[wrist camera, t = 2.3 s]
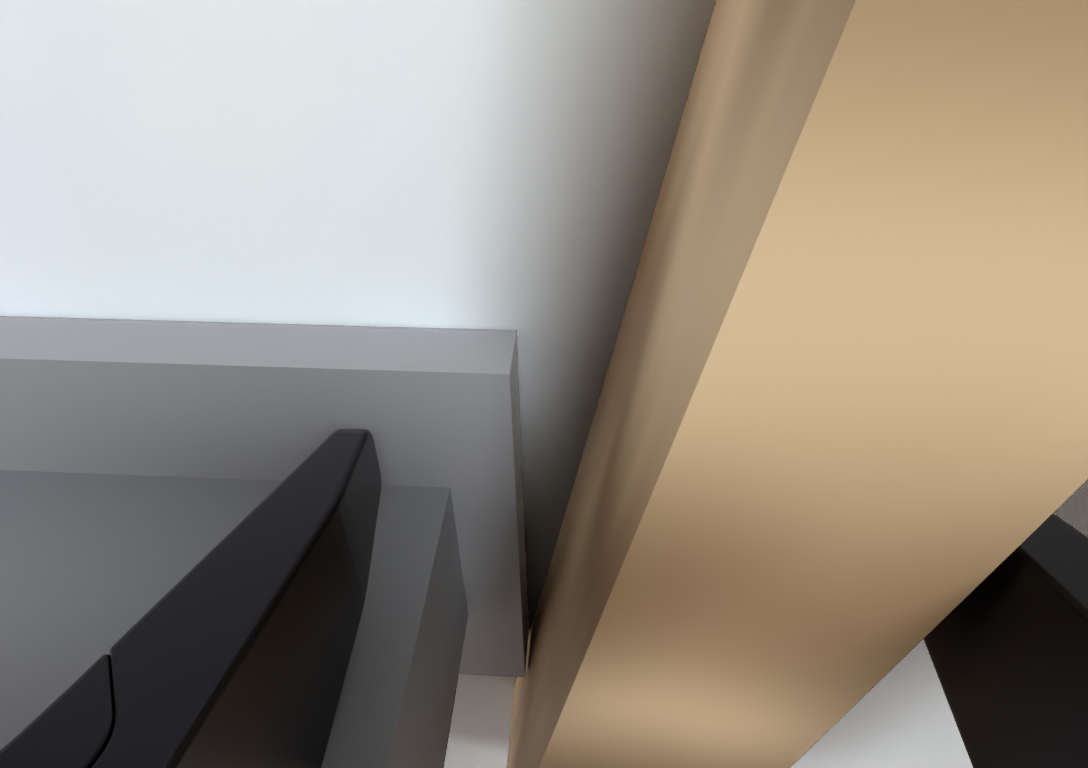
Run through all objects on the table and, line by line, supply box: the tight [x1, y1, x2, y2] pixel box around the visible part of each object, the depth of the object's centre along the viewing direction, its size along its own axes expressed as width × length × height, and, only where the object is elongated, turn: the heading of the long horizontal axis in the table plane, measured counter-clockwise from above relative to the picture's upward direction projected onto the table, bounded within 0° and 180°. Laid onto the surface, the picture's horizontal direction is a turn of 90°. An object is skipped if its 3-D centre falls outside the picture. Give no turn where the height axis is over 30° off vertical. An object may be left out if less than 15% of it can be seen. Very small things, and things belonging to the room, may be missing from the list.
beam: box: [507, 0, 1088, 768], centre depth 9 cm, size 20×4×4 cm, turn 170°
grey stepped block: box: [0, 316, 529, 768], centre depth 10 cm, size 14×8×5 cm, turn 90°
